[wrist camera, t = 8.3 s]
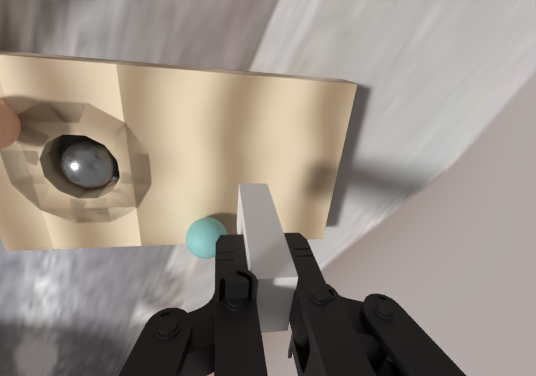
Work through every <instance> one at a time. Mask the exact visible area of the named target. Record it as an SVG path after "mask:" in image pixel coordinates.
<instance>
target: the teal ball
mask: <svg viewBox="0 0 536 376" xmlns="http://www.w3.org/2000/svg"><path fill="white" fill-rule="evenodd" d="M220 235H227V232H226V229H225V227H224V226H223V224H222V223H221V222H220V221H218V220H216V219H214V218H209V217H205V218H201V219H198V220H196V221H195V222H193V223H192V224H191V226H190V227H189V229H188V230H187V233H186V244H187V247H188V249H189V250H190V252H191V253H192V254H194V255H195V256H197V257H199V258H204V259H207V258H212V257H215V248H216V241H217V240H218V238H219V236H220Z"/></svg>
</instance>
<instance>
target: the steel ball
mask: <svg viewBox="0 0 536 376" xmlns="http://www.w3.org/2000/svg"><path fill="white" fill-rule="evenodd" d="M61 167H62V170H63V172H64V174H65V176H66V177H67V178H68V179H69V180H70V181H71V182H73V183H74V184H76V185H79V186H82V187H88V188H93V187H98V186H102V185H104V184H106V183H107V182H109V181H110V180H111V179H112V178H113V176H114V174H115V172H116V169H117V161H116V158H115V157H114V156H113V155H112V154H111V152H110V151H109V150H108V149H107V147H106V146H105V145H103V144H101V143H99V142H96V141H80V142H77V143H74V144H73V145H71V146H70V147H68V148H67V149H66V151H65V152H64V154H63V156H62V159H61Z"/></svg>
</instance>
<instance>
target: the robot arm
mask: <svg viewBox="0 0 536 376" xmlns="http://www.w3.org/2000/svg"><path fill="white" fill-rule="evenodd" d="M289 321H290V325H291V329H292V336H291V341H290V346H289V350H288V358H291V357H292V352H293V356H294V360H295V364H296V368H297V373H298V376H466V375H465V374H464V373H463V372H462V371H461V370H460V369H459V368H458V367H457V365H456V364H455V363H454V362H453V361H452V360H451V359H450V358H449V357H448V356H447V355H446V354H445V353H444V352H443V351H442V350H441V348H440V347H439V346H438V345H437V344H436V343H435V342H434V341H433V340H432V339H431V338H430V337H429V336H428V335H427V334H426V333H425V332H424V330H422V328H421V327H419V325H418V324H417V323H416V322H415V321H414V320H413V319H412V318H411V317H410V316H409V315H408V314H407V313H406V311H405V310H404V309H403V308H402V307H401V306H400V305H399V304H398V303H397V302H395V301H394V300H393V299H391V298H389V297H387V296H385V295H381V294H370V295H369V296H367V297H366V298H365V300H364V302H361V301H357V300H352V299H348V298H345V297H341V296H340V295H338V293H337V292H336V290H335V289H334V288H332V287H331V286H330V285H329V284H326V282H325V280H324V278H323V276H322V273H321V271H320V269H319V266H318V264H317V262H316V260H315V257H314V256H313V253H312V250H311V249H310V246H309V243H308V241H307V239H306V238H305V237H304V236H303V235H301V234H300V233H284V232H283V229H282V226H281V223H280V220H279V217H278V214H277V211H276V208H275V205H274V202H273V199H272V196H271V193H270V190H269V187H268V184H261V183H239V192H238V210H237V235H220V236H219V238H218V240H217V241H216V248H215V293H214V295H213V297H212V299H211V300H210V301H209V303H207V304H206V305H205V306H203V307H201V308H199V309H197V310H194V311H192V312H189V313H187V312H186V311H185V310H182V309H179V308H167V309H164V310H161V311H159V312H157V313H156V314H154V315H153V316H152V317H151V318H150V319H149V320H148V322H147V323H146V324H145V326H144V328H143V330H142V332H141V334H140V336H139V338H138V340H137V342H136V344H135V346H134V347H133V349H132V351H131V353H130V355H129V357H128V359H127V361H126V363H125V365H124V367H123V369H122V371H121V372H120V374H119V376H207V375H209V374H211V373H213V372H214V376H268V375H267V368H266V362H265V355H264V348H263V342H262V335H261V333H262V332H274V331H285V330H288V325H289Z"/></svg>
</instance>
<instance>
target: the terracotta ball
mask: <svg viewBox="0 0 536 376" xmlns="http://www.w3.org/2000/svg"><path fill="white" fill-rule="evenodd" d="M20 133H21V122H20V119H19V117H18V115H17V113H16V112H15V111H14V110H13V109H12V108H11V107H10V106H9V105H8V104H7V103H5V102H4V101H2V100H0V150H2V149H5V148H7V147H9V146H11V145H12V144H13V143H14V142H15V141H16V140H17V139H18V137H19V135H20Z"/></svg>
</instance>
